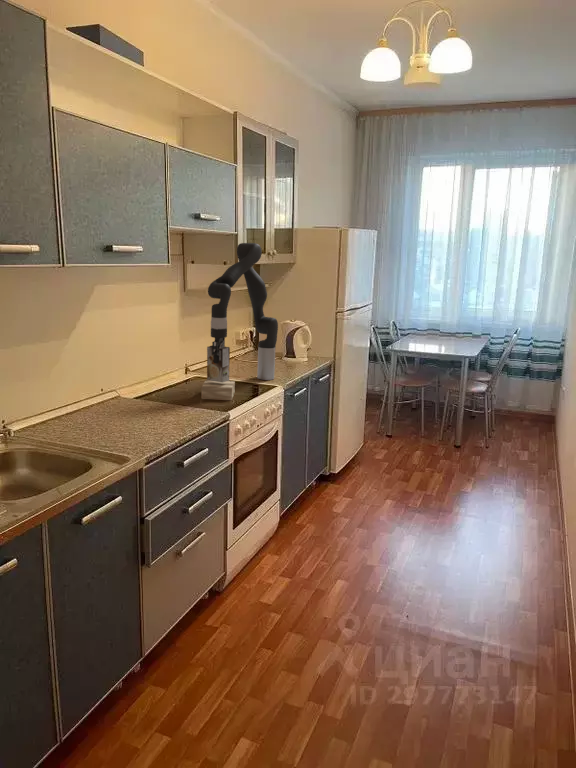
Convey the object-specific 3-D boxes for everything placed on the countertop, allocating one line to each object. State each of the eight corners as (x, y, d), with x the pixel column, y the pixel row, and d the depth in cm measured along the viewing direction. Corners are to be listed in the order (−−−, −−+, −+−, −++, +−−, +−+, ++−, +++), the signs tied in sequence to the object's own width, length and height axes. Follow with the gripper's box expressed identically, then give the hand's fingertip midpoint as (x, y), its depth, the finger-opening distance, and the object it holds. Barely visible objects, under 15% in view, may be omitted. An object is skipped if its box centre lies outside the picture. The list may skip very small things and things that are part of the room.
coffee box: (230, 380, 268) (230, 347, 264) (222, 382, 263) (223, 348, 259) (214, 377, 272) (214, 344, 268) (206, 380, 267) (206, 346, 263)
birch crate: (205, 391, 275) (206, 379, 274) (234, 393, 276) (234, 381, 274) (201, 399, 262) (201, 386, 260) (231, 400, 262) (231, 388, 260)
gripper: (214, 324, 269) (214, 358, 273) (206, 328, 255) (206, 364, 259) (230, 325, 268) (229, 359, 272) (223, 329, 254) (222, 365, 258)
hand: (218, 361), depth 265 cm, fingers closed on coffee box, 7 cm apart
